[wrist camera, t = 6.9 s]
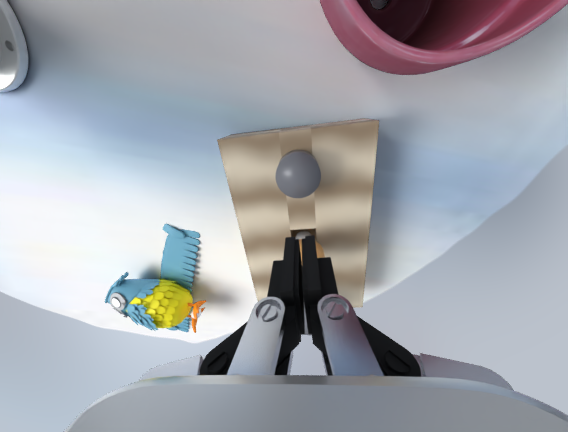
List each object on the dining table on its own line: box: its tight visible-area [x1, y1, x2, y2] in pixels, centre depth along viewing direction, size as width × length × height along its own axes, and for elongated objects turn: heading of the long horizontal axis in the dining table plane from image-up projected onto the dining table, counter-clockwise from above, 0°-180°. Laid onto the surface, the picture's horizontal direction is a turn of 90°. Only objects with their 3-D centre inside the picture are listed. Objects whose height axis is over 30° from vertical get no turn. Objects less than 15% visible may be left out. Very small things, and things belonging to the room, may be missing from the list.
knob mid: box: [295, 231, 325, 261], centre depth 24 cm, size 4×4×6 cm
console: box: [217, 118, 379, 307], centre depth 28 cm, size 26×16×5 cm, turn 7°
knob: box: [275, 149, 321, 198], centre depth 22 cm, size 4×4×6 cm
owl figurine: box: [105, 224, 206, 333], centre depth 35 cm, size 28×9×15 cm
